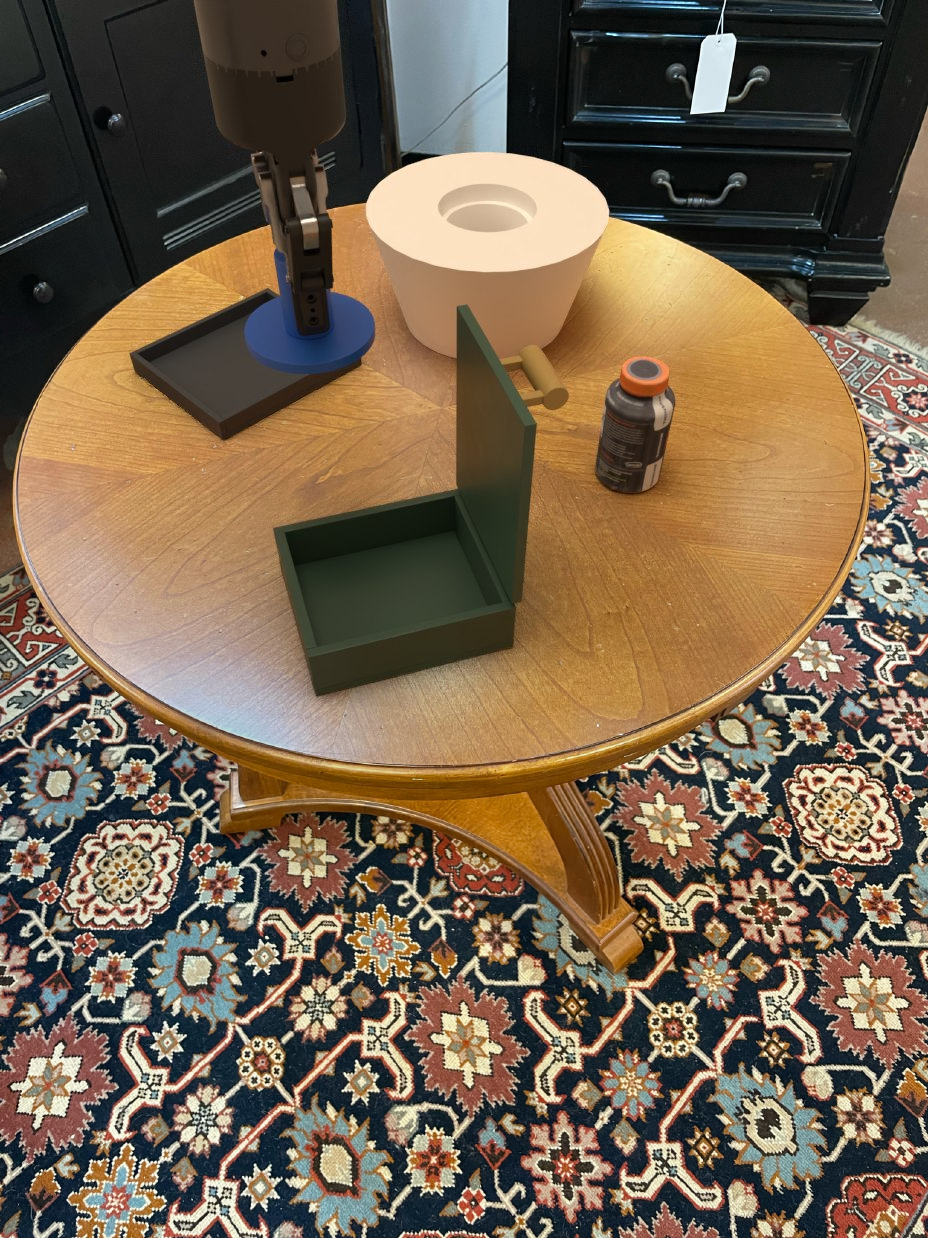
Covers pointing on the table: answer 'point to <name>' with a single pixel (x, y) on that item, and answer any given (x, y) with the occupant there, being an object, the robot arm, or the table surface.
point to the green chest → (392, 590)
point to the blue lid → (292, 353)
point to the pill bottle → (635, 426)
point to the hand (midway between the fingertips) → (307, 314)
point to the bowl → (486, 245)
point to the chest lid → (499, 442)
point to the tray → (223, 371)
